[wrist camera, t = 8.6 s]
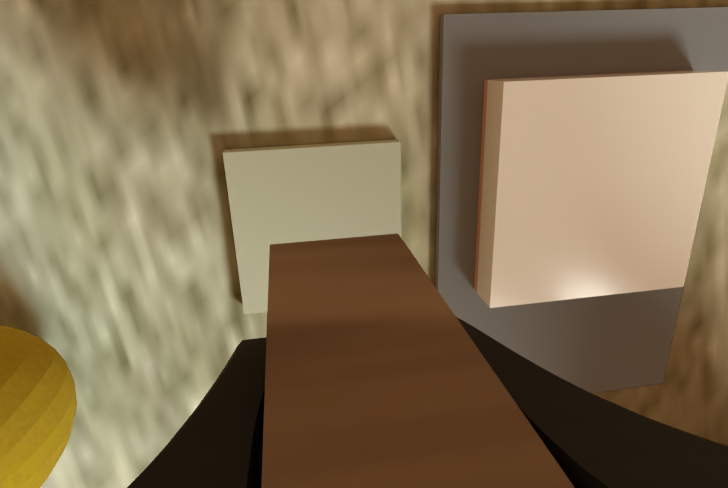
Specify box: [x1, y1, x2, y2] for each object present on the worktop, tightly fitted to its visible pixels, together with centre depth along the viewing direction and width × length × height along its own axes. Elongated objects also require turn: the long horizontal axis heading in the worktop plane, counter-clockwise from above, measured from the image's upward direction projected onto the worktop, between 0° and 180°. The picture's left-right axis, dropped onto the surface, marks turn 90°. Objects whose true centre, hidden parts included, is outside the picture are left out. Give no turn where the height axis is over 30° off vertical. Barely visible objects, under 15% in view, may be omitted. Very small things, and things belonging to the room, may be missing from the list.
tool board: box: [223, 139, 402, 314], centre depth 18 cm, size 6×6×1 cm
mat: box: [435, 7, 728, 393], centre depth 20 cm, size 16×11×1 cm
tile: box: [474, 70, 728, 308], centre depth 19 cm, size 2×8×8 cm
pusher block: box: [261, 233, 575, 488], centre depth 9 cm, size 3×3×8 cm
